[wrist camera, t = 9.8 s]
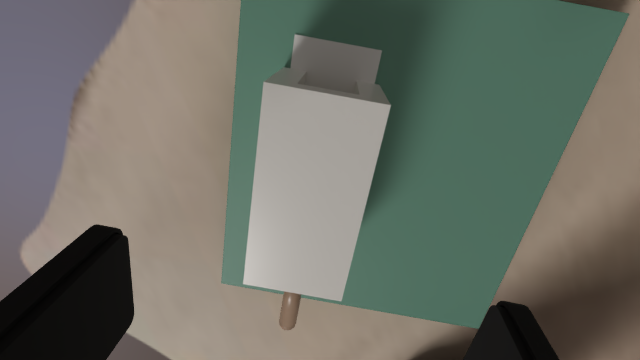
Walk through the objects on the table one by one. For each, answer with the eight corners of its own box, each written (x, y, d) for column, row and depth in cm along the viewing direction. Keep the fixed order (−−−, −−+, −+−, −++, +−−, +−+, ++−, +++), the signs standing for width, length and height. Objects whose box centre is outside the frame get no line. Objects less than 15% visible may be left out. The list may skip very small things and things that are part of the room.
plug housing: (283, 67, 18) (263, 81, 14) (379, 84, 18) (390, 105, 14) (256, 286, 24) (236, 347, 20) (329, 299, 24) (325, 363, 20)
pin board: (253, -53, 18) (220, -79, 13) (607, 14, 18) (698, 11, 13) (227, 269, 26) (202, 322, 21) (471, 312, 26) (498, 374, 21)
